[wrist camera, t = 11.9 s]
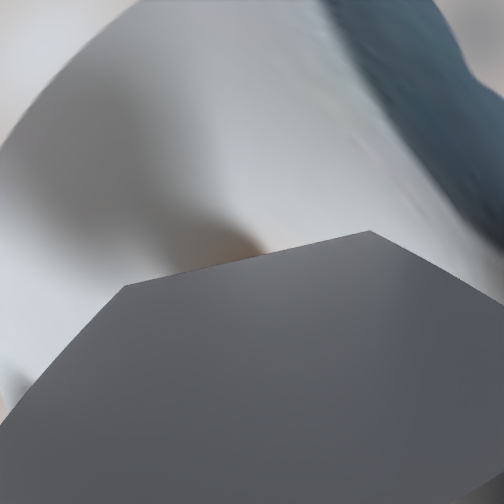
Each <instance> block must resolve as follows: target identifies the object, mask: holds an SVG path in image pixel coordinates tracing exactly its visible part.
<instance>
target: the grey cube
mask: <svg viewBox="0 0 504 504" xmlns="http://www.w3.org/2000/svg"><path fill="white" fill-rule="evenodd" d="M0 504H504V306H503V305H501V304H499V303H498V302H496V301H495V300H493V299H491V298H490V297H488V296H487V295H485V294H483V293H482V292H480V291H478V290H477V289H475V288H473V287H472V286H470V285H468V284H467V283H465V282H463V281H462V280H460V279H458V278H457V277H455V276H453V275H451V274H450V273H448V272H446V271H444V270H443V269H441V268H439V267H437V266H436V265H434V264H432V263H430V262H428V261H427V260H425V259H423V258H421V257H419V256H418V255H416V254H414V253H412V252H410V251H408V250H406V249H405V248H403V247H401V246H399V245H397V244H395V243H393V242H391V241H389V240H387V239H386V238H384V237H382V236H380V235H378V234H376V233H374V232H372V231H365V232H361V233H357V234H352V235H348V236H343V237H339V238H335V239H330V240H326V241H322V242H317V243H313V244H309V245H304V246H300V247H295V248H291V249H287V250H282V251H278V252H273V253H269V254H264V255H260V256H256V257H251V258H247V259H242V260H238V261H233V262H229V263H225V264H220V265H216V266H211V267H207V268H202V269H198V270H193V271H189V272H184V273H180V274H175V275H171V276H166V277H162V278H157V279H153V280H148V281H144V282H139V283H135V284H130V285H126V286H124V287H123V288H122V289H121V290H120V291H119V292H118V293H117V294H116V295H115V296H114V297H113V298H112V299H111V300H110V301H109V302H108V303H107V304H106V305H105V306H104V307H103V308H102V309H101V310H100V311H99V312H98V313H97V315H96V316H95V317H94V318H93V319H92V320H91V321H90V322H89V323H88V324H87V325H86V326H85V327H84V328H83V329H82V330H81V331H80V333H79V334H78V335H77V336H76V337H75V338H74V339H73V340H72V341H71V342H70V343H69V345H68V346H67V347H66V348H65V349H64V350H63V351H62V352H61V353H60V354H59V356H58V357H57V358H56V359H55V360H54V361H53V362H52V363H51V365H50V366H49V367H48V368H47V369H46V370H45V371H44V373H43V374H42V375H41V376H40V377H39V378H38V380H37V381H36V382H35V383H34V384H33V385H32V387H31V388H30V389H29V390H28V391H27V393H26V394H25V395H24V396H23V397H22V399H21V400H20V401H19V402H18V404H17V405H16V406H15V407H14V408H13V410H12V411H11V412H10V413H9V415H8V416H7V417H6V418H5V420H4V421H3V422H2V424H1V425H0Z"/></svg>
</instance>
